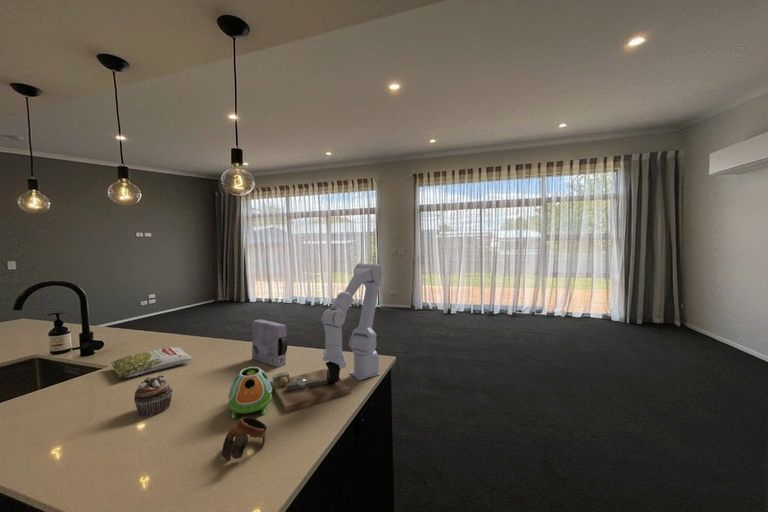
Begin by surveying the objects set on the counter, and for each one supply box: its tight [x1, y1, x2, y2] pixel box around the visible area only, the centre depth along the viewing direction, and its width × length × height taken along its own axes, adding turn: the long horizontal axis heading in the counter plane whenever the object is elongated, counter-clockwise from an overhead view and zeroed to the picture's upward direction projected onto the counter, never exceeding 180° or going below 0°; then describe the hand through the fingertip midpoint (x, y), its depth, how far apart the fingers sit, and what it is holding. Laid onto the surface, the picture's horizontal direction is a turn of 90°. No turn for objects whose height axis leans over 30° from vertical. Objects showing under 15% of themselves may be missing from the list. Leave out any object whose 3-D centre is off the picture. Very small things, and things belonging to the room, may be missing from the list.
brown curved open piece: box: [221, 416, 268, 462], centre depth 74 cm, size 12×10×8 cm
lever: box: [287, 370, 335, 391], centre depth 104 cm, size 17×4×4 cm, turn 110°
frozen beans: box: [109, 346, 194, 378], centre depth 129 cm, size 21×6×25 cm
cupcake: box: [133, 375, 174, 418], centre depth 94 cm, size 10×10×10 cm
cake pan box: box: [251, 318, 288, 368], centre depth 133 cm, size 19×5×18 cm, turn 58°
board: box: [271, 367, 352, 414], centre depth 106 cm, size 22×20×5 cm
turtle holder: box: [227, 366, 273, 420], centre depth 96 cm, size 12×18×12 cm
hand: (334, 381), depth 105 cm, fingers closed, pressing on lever
